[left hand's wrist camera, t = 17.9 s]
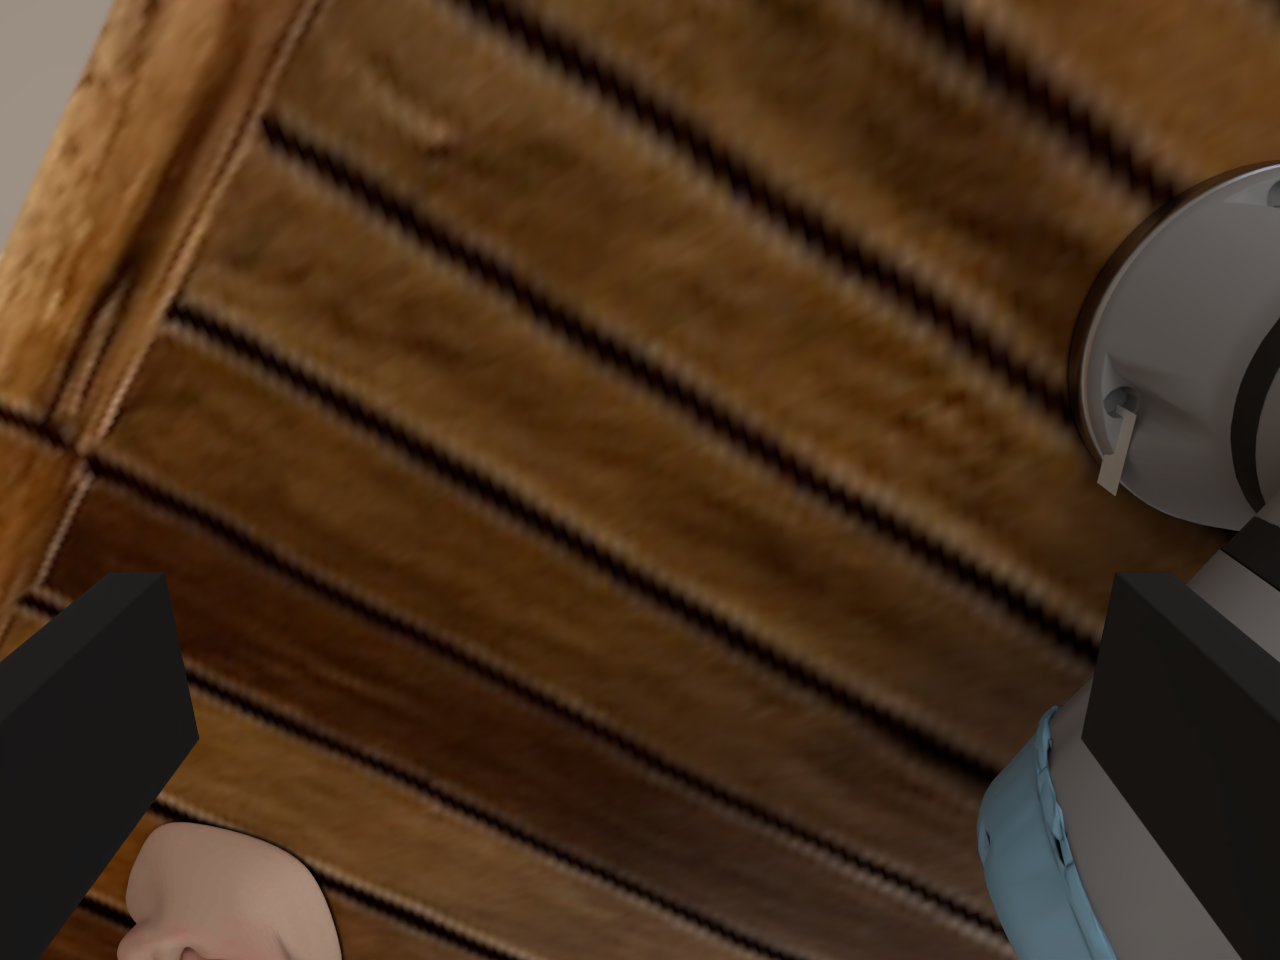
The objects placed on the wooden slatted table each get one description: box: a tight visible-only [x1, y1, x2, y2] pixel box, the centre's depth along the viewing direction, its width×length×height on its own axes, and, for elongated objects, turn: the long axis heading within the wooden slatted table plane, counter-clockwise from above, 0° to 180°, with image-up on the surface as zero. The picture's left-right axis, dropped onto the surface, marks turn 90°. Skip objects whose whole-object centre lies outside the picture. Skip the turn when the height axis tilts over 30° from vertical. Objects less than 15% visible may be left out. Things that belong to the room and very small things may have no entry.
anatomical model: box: [117, 822, 342, 960], centre depth 48 cm, size 13×4×12 cm
